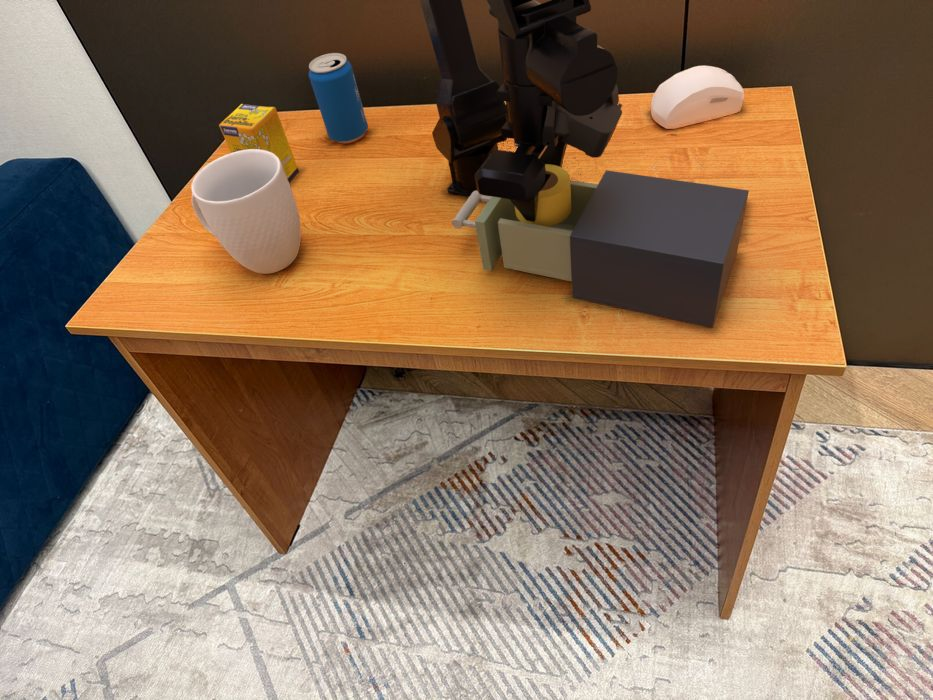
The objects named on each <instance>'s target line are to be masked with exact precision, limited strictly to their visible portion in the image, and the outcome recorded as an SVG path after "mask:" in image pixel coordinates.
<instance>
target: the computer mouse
mask: <svg viewBox="0 0 933 700" xmlns="http://www.w3.org/2000/svg"><path fill="white" fill-rule="evenodd" d="M744 91H745V90H744V88H743V86H742V85H741V84H740V82H738V80H737V79H736V77H735V76H733V75H732V74H731V73H729V72H728V71H726V70H725V69H722V68H720V67H717V66H712V65H697V66H693V67H690V68H688V69H684V70H682V71H679V72H677V73H675V74H674V75H672V76H671V77H669V78H668V79H666V80H665V81H663V82H662V83H660V84H659V85H658V87H657V88H656V90H655V91H654V93H653V95H652V98H651V102H650V115H651V117H652V119H653V120H654V122H656V123H657V124H658V125H660V126H661V127H663V128H664V129H667V130H676V129H680V128H683V127H688V126H691V125H696V124H699V123H704V122H707V121H712V120H715V119H716V120H717V119H719V118H723V117H727V116H730V115H733V114H736V113H740V112H741V111H742V108H743V103H744V99H745V93H744Z"/></svg>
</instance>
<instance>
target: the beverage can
mask: <svg viewBox="0 0 933 700" xmlns="http://www.w3.org/2000/svg"><path fill="white" fill-rule="evenodd" d="M308 69H309V71H308V78H309V81H310V84H311V87H312V90H313V93H314V96H315V99H316V103H317V105H318V109H319V112H320V115H321V118H322V121H323V124H324V128H325V131H326V133H327V136H328V138H329V139H330V140H331V141H333V142H336V143H338V144H350V143H354V142H356V141H359V140H360V139H361V138H363V136H364V135H365V134H366V132H367V131H368V129H369V125H368V120H367V117H366V114H365V110H364V106H363V103H362V99H361V96H360V91H359V88H358V85H357V82H356V78H355V74H354V71H353V66H352V64H351V62H350V61H349V60H348V59H347V56H346V55H345V54H343V53H339V52H330V53H326V54H323V55H320V56H319V55H318V56H317V57H315V58H314V59H312V60H311V61H310V62H309V64H308Z"/></svg>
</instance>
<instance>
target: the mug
mask: <svg viewBox="0 0 933 700" xmlns="http://www.w3.org/2000/svg"><path fill="white" fill-rule="evenodd" d="M190 187H191V188H190V189H191V193H192V194H191V197H190V198H191V205H192V209H193V212H194V214H195V216H196V218H197V220H199V222H200V224H201V225H202V227H203V228H204V229H205V230H206V231H207V232H208V233H210V234H211V235H212V236H214V237H215V238H216V239H217V241H218V242H219V244H220V245H221V247H222V248H223V249H224V250H225V252H227V253H228V254H229V255H230V256H231V257H232V258H233V259H234V261H236V262H237V263H239V264H240V265H241V266H242V267H244V268H246V269H247V270H249V271H251V272H254V273H256V274H261V275H269V274H274V273H277V272H280V271H283V270H284V269H287V268H288V267H290V265H291V264H293V263H294V261H295V260H296V258H297V256H298V255H299V251H300V246H301V241H302V228H301V227H302V226H301V225H302V223H301V219H300V218H301V217H300V214H299V208H298V205H297V202H296V197H295V195H294V192H293V190H292V188H291V184H290V182H289V181H288V180H287V177H286V174H285V172H284V170H283V167H282V164H281V162H280V160H279V158H278V157H277V156H276V155H275V154H273V153H271V152H269V151H266V150H259V149H249V150H241V151H237V152H233V153H231V152H230V153H228V154H225V155H222V156H220V157H218V158H216V159H214V160H212V161H211V162H209V163H207V164H206V165H205V166H203V167H202V168H201V169H200V170H199V171H198V172H197V173H196V175H195V176H194V177H193V179H192V181H191V186H190Z"/></svg>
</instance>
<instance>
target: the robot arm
mask: <svg viewBox="0 0 933 700" xmlns="http://www.w3.org/2000/svg"><path fill="white" fill-rule="evenodd" d="M419 2H420V5H421V10H422V14H423V16H424V20H425V24H426V27H427V30H428V33H429V37H430V38H429V39H430V40H431V45H432V48H433V51H434V56H435V58H436V63H437V66H438V69H439V72H440V76H441V80H440V85H439V89H438V93H437V98H436V102H435V104H436V109H437V113H438V117H439V119H438V120H437V123H436V124H435V126H434V128H433V130H432V131H431V136H432V139H433V142H434V145H435V147H436V149H437V150H438V151H439V152H440V154H441V155H442V156H443V157H444V158H445V159H446V160H447V162H448V167H449V172H450V177H451V183H450V184H449V185H448V187H447V190H446V191H447V193H448V194H451V195H458V196H463V197H468V198H469V197H470V195H471V194H472V193H473V191H478V193H479V194H481V195H485V196H491V197H492V196H493V197H499V198H505V199H510V200H511V202H512V203H513V204H514V205H515V207H516V208H517V209H518V211H519V212H520V213H521V214H522V216H523V217H524V218H525V220H527V221H531V222H534V221H535V220H536V216H537V207H538V195H539V192H540V191H541V190H542V189H543V187H544V186H545V184H546V183H547V181H548V179H549V178H550V176H551V174H546V169H545V164H551V165H556V166H559V167H561V168H563V163H564V159H565V156H566V155H565V154H566V150H567V147H568V146H570V147H572V148H575V149H577V150H579V151H580V152H583V153H584V154H585V155H586V156H588V157H590V158H595V159H597V158H600V157H602V155H603V154H604V152H605V150H606V148H607V146H608V145H609V143H610V142H611V139H612V137H613V135H614V133H615V130H616V128H617V126H618V123H619V121H620V120H621V117H622V114H623V111H622V108H623V104H621V103H619V102H620V97H619V88H618V85H617V81H618V76H619V75H618V74H619V67H618V65H617V63H616V60H615V57H614V56H613V54H612V53H611V52H610V51H609V50H607V49H606V48H603V46H600V45H599V44H598V34H597V32H596V31H594V30H593V29H591V28H589V27H584V26H582V25H580V24H578V23H577V17H580V16H583V15H585V14H589V13H590V12H591V11H592V5H591V3H590V0H548V1H544V2H543V3H541V2H539V1H537V0H486V2H487V4H488V5H489V7H488V13H489V15H490V16H492V17H493V18H495V19H496V21H497V32H498V41H499V51H500V52H499V53H500V60H501V69H502V78H503V79H502V80H503V82H502V84H501V85H500V84H499V83H498V82H497V81H496V80H492V79H491V78H490V77H489V76H488V75H487V74H486V73H485V72H484V71H483V70H482V69H481V68H480V65H479V62H478V58H477V57H478V56H477V54H476V51H475V47H474V43H473V38H472V35H471V31H470V27H469V22H468V20H467V15H466V12H465V8H464V4H463V0H419ZM508 139H513V146H514V147H516V149H515V151H511V150H510V151H509V150H502V149H499V145H498V144H500V143H503V142H506V141H507V140H508Z"/></svg>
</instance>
